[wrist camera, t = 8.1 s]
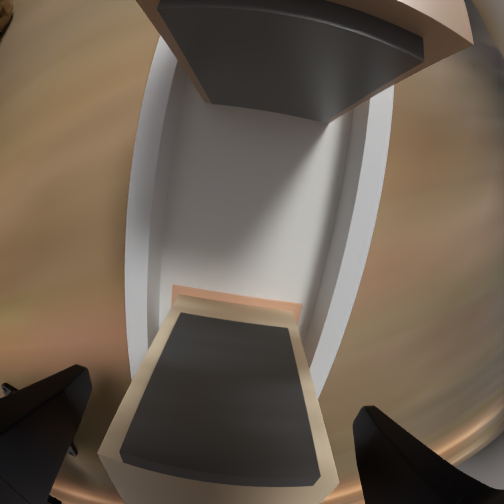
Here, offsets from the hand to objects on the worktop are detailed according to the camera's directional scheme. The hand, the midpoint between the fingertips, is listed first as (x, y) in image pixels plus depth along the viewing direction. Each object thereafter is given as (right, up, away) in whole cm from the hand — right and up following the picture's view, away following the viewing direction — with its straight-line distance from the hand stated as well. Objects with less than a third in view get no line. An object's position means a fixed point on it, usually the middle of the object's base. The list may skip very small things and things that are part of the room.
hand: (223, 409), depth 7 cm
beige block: (0, +1, +3) cm, 3 cm away
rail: (+1, +6, +3) cm, 7 cm away
